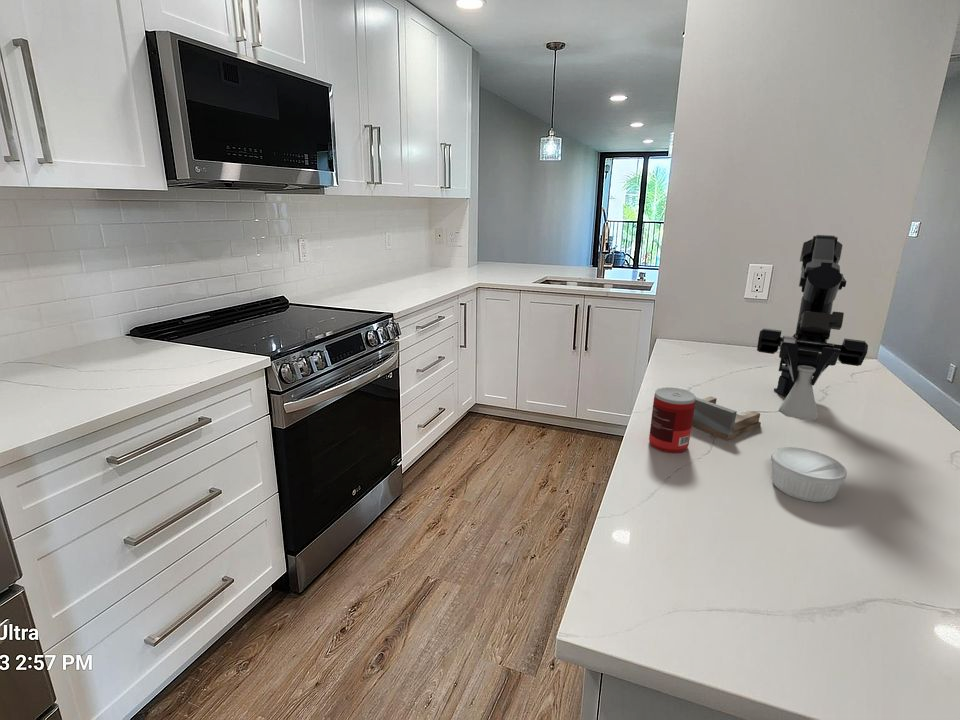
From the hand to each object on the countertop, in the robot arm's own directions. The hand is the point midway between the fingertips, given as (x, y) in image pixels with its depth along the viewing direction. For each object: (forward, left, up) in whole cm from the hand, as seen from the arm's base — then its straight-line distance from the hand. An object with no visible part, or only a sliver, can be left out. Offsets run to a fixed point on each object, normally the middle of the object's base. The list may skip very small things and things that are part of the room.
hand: (803, 382), depth 106 cm
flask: (-1, -1, -7) cm, 8 cm away
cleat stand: (+10, -11, -13) cm, 20 cm away
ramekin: (+10, +17, -14) cm, 24 cm away
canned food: (+26, -1, -14) cm, 29 cm away
